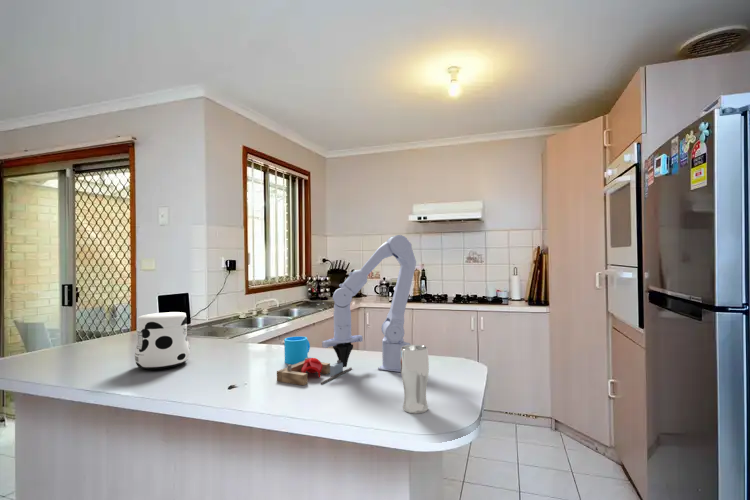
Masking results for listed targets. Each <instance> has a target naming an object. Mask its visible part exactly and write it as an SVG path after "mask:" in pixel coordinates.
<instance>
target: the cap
mask: <svg viewBox="0 0 750 500" xmlns="http://www.w3.org/2000/svg"><path fill="white" fill-rule="evenodd" d="M322 367H323V366H322V364H321V361H320V360H319V359H318V358H316V357H310V358H308V359H307V360H306V361H305V362H304V364H303V367H302V369H301V373H305V372H306V370H307V371H308V373H309V374H316V373H315V372H316V371H317V372H318V373H317V376H318V378H321V373H320V372H321V370H322Z"/></svg>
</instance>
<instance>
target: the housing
mask: <svg viewBox="0 0 750 500" xmlns="http://www.w3.org/2000/svg"><path fill="white" fill-rule="evenodd" d="M307 359H309V358H305V360H304V361H302V362H299V363H297V364H287V365H286V366H287V367H285V368H282V369H280V370H276V382H279V383H280V382H281V383H287V384H293V385H297V386H305V385H307V384H308V373H309V372H308V371H307V370H306V372H305V373H301V369H302V367H303V364H304V362H305V361H306V360H307ZM320 362H321V361H320ZM321 364H322V366H323V367H322V370H321V372H320V375H321V374H323V375H328V374H330V366H331V363H330V362H321ZM351 370H352V367H349V368H347V369H343V371H342V372H340V373H338V374H336V375H334V376H331V377H330V376H329V378H327V379H325V380H322V381H321V382H320V385H324V384H326V383H327V382H330V381H332V380H333V379H336V378H338V377H340V376H342V375H344V374H345V373H348V372H349V371H351ZM314 374H318V372H317V371H316V372H315V373H314Z"/></svg>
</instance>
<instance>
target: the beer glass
mask: <svg viewBox="0 0 750 500" xmlns="http://www.w3.org/2000/svg"><path fill="white" fill-rule="evenodd" d="M428 350H429V349H428V346H426V345H424V344H423V345H422V344H411V345H405V346H402V347H401V357H400V368H401V372H400V374H401V381H402V386H403V392H404V394H403V395H404V398H403V404H402V405H403V406H402V409H403V411H404V412H406V413H409V414H413V415H414V414H418V415H419V414H424V413H426V412H427V411H428V410H429V406H428V400H427V386H428V380H429V371H430V361H429V351H428Z"/></svg>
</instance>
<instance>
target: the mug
mask: <svg viewBox="0 0 750 500" xmlns="http://www.w3.org/2000/svg"><path fill="white" fill-rule="evenodd" d="M283 343H284V344H283V345H284V346H283V347H284V364H287V365H294V364H297V363H299V362H302V361H304V360H305V358H308V355H309V352H310V349H311V343H310V341H309V339H308V337H307V336H302V335H300V336H299V335H298V336H289V337H285V338H284V342H283ZM308 359H309V358H308Z"/></svg>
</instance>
